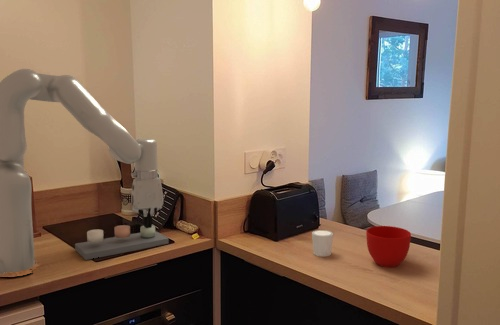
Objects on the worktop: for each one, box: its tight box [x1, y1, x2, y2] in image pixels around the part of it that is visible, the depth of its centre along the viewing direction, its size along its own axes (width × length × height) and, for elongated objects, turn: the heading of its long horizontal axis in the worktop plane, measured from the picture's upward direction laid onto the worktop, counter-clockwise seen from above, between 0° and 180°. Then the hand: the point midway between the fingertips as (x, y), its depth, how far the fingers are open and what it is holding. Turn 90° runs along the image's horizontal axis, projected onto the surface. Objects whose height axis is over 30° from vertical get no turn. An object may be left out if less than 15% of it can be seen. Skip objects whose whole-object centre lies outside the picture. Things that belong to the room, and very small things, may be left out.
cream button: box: [86, 228, 105, 243], centre depth 148 cm, size 5×5×3 cm
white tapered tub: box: [311, 229, 334, 257], centre depth 148 cm, size 7×7×7 cm
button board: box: [74, 230, 170, 261], centre depth 154 cm, size 28×12×2 cm, turn 125°
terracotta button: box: [114, 224, 131, 238], centre depth 154 cm, size 5×5×3 cm
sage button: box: [139, 224, 156, 238], centre depth 159 cm, size 5×5×3 cm
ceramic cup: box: [365, 225, 412, 268], centre depth 141 cm, size 13×17×10 cm
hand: (147, 226), depth 159 cm, fingers closed
